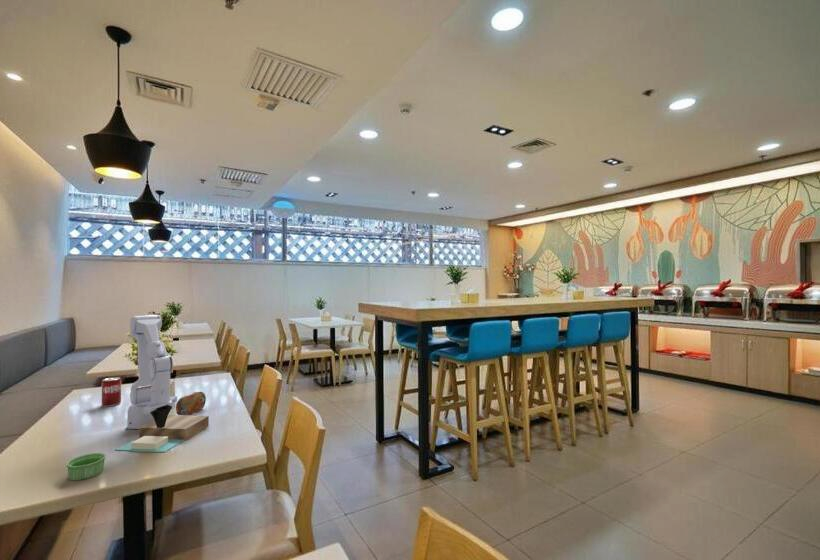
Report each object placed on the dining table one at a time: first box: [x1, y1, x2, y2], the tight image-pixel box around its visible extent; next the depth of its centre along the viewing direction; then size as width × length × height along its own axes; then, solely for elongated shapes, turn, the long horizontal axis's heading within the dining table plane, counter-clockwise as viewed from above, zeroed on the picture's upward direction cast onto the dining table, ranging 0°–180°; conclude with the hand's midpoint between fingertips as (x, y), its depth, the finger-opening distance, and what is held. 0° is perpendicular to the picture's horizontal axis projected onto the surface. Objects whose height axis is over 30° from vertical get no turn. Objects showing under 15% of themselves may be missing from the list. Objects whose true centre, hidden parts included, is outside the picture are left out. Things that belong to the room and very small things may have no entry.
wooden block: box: [138, 414, 210, 441], centre depth 148 cm, size 18×14×4 cm
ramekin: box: [66, 452, 107, 481], centre depth 116 cm, size 9×9×4 cm
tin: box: [175, 391, 207, 415], centre depth 170 cm, size 15×3×8 cm, turn 168°
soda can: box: [101, 376, 122, 408], centre depth 182 cm, size 7×7×12 cm
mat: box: [115, 437, 186, 453], centre depth 136 cm, size 18×10×1 cm, turn 85°
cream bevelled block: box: [131, 436, 168, 450], centre depth 135 cm, size 9×6×2 cm, turn 85°
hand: (160, 427), depth 141 cm, fingers closed
